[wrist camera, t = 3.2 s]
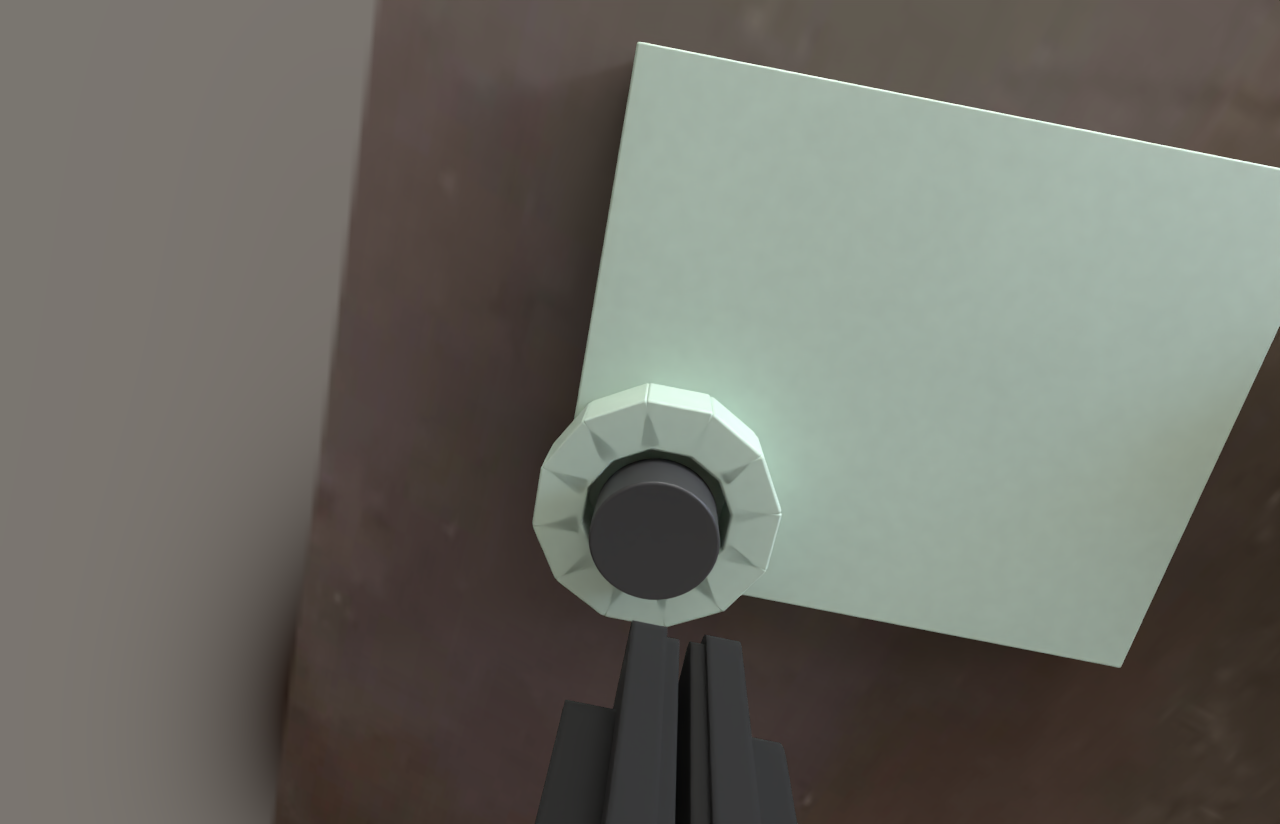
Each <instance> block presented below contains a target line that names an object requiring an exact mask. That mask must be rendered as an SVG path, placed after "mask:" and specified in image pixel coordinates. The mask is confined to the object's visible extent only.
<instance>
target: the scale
mask: <svg viewBox="0 0 1280 824" xmlns="http://www.w3.org/2000/svg"><path fill="white" fill-rule="evenodd" d="M1279 326H1280V168H1276V167H1271V166H1266V165H1261V164H1256V163H1251V162H1246V161H1241V160H1236V159H1231V158H1225V157H1220V156H1215V155H1210V154H1205V153H1200V152H1195V151H1190V150H1185V149H1180V148H1175V147H1170V146H1165V145H1160V144H1155V143H1150V142H1145V141H1139V140H1134V139H1129V138H1124V137H1119V136H1114V135H1109V134H1104V133H1099V132H1094V131H1089V130H1084V129H1079V128H1074V127H1069V126H1064V125H1059V124H1053V123H1048V122H1043V121H1038V120H1033V119H1028V118H1023V117H1018V116H1013V115H1008V114H1003V113H998V112H993V111H988V110H983V109H978V108H973V107H967V106H962V105H957V104H952V103H947V102H942V101H937V100H932V99H927V98H922V97H917V96H912V95H907V94H902V93H897V92H892V91H887V90H881V89H876V88H871V87H866V86H861V85H856V84H851V83H846V82H841V81H836V80H831V79H826V78H821V77H816V76H811V75H806V74H800V73H795V72H790V71H785V70H780V69H775V68H770V67H765V66H760V65H755V64H750V63H745V62H740V61H735V60H730V59H725V58H720V57H714V56H709V55H704V54H699V53H694V52H689V51H684V50H679V49H674V48H669V47H664V46H659V45H654V44H649V43H644V42H638V43H637V46H636V52H635V58H634V64H633V70H632V76H631V82H630V88H629V94H628V100H627V106H626V112H625V118H624V124H623V130H622V136H621V142H620V148H619V154H618V160H617V166H616V171H615V177H614V183H613V189H612V195H611V201H610V207H609V213H608V219H607V225H606V231H605V237H604V243H603V249H602V255H601V261H600V267H599V273H598V279H597V285H596V291H595V297H594V303H593V309H592V315H591V321H590V327H589V333H588V339H587V345H586V351H585V357H584V362H583V368H582V374H581V380H580V386H579V392H578V398H577V404H576V410H575V416H574V421H573V422H572V423H571V424H570V425H569V426H568V427H567V428H566V430H565V431H564V432H563V433H562V434H561V435H560V436H559V438H558V439H557V440H556V441H555V442H554V443H553V445H552V447H551V449H550V451H549V453H548V455H547V457H546V459H545V461H544V463H543V465H542V467H541V470H540V476H539V483H538V489H537V496H536V502H535V508H534V515H533V521H532V524H533V528H534V531H535V533H536V535H537V538H538V540H539V542H540V545H541V547H542V549H543V552H544V554H545V556H546V559H547V561H548V563H549V566H550V568H551V570H552V573H553V575H554V577H555V578H556V579H557V581H558V582H559V583H561V584H562V585H563V586H565V587H566V588H567V589H568V590H570V591H571V592H572V593H574V594H575V595H576V596H578V597H579V598H580V599H581V600H583V601H584V602H585V603H587V604H588V605H589V606H591V607H592V608H593V609H594V610H596V611H597V612H598V613H600V614H601V615H605V616H606V617H611V618H616V619H621V620H626V621H631V622H632V620H634V621H639V622H644V623H649V624H654V625H659V626H665V627H668V626H672V625H676V624H679V623H683V622H687V621H690V620H694V619H698V618H701V617H705V616H709V615H712V614H716V613H720V612H721V611H725V610H726V609H727V608H728V607H729V606H730V605H731V604H732V603H733V602H734V601H735V600H736V599H738V598H739V597H740V596H741V595H746V596H751V597H757V598H762V599H767V600H772V601H777V602H782V603H788V604H793V605H798V606H803V607H808V608H813V609H819V610H824V611H829V612H834V613H839V614H844V615H850V616H855V617H860V618H865V619H870V620H875V621H881V622H886V623H891V624H896V625H901V626H906V627H912V628H917V629H922V630H927V631H932V632H937V633H943V634H948V635H953V636H958V637H963V638H968V639H974V640H979V641H984V642H989V643H994V644H999V645H1005V646H1010V647H1015V648H1020V649H1025V650H1030V651H1036V652H1041V653H1046V654H1051V655H1056V656H1061V657H1067V658H1072V659H1077V660H1082V661H1087V662H1092V663H1098V664H1103V665H1108V666H1113V667H1118V668H1120V667H1121V666H1122V663H1123V661H1124V659H1125V657H1126V655H1127V653H1128V651H1129V648H1130V646H1131V644H1132V642H1133V640H1134V638H1135V635H1136V633H1137V631H1138V629H1139V627H1140V625H1141V623H1142V620H1143V618H1144V616H1145V614H1146V612H1147V610H1148V608H1149V605H1150V603H1151V601H1152V599H1153V597H1154V595H1155V593H1156V590H1157V588H1158V586H1159V584H1160V582H1161V580H1162V577H1163V575H1164V573H1165V571H1166V569H1167V567H1168V565H1169V562H1170V560H1171V558H1172V556H1173V554H1174V552H1175V550H1176V547H1177V545H1178V543H1179V541H1180V539H1181V537H1182V534H1183V532H1184V530H1185V528H1186V526H1187V524H1188V522H1189V519H1190V517H1191V515H1192V513H1193V511H1194V509H1195V507H1196V504H1197V502H1198V500H1199V498H1200V496H1201V494H1202V491H1203V489H1204V487H1205V485H1206V483H1207V481H1208V479H1209V476H1210V474H1211V472H1212V470H1213V468H1214V466H1215V464H1216V461H1217V459H1218V457H1219V455H1220V453H1221V451H1222V449H1223V446H1224V444H1225V442H1226V440H1227V438H1228V436H1229V433H1230V431H1231V429H1232V427H1233V425H1234V423H1235V421H1236V418H1237V416H1238V414H1239V412H1240V410H1241V408H1242V406H1243V403H1244V401H1245V399H1246V397H1247V395H1248V393H1249V390H1250V388H1251V386H1252V384H1253V382H1254V380H1255V378H1256V375H1257V373H1258V371H1259V369H1260V367H1261V365H1262V363H1263V360H1264V358H1265V356H1266V354H1267V352H1268V350H1269V348H1270V345H1271V343H1272V341H1273V339H1274V337H1275V335H1276V332H1277V330H1278V328H1279ZM650 458H661V459H668V460H672V461H676V462H678V463H681V464H683V465H685V466H687V467H689V468H691V469H692V470H693V471H695V472H696V473H697V474H698V475H699V476H700V477H701V478H702V479H703V480H704V481H705V482H706V484H707V485H708V486H709V488H710V490H711V492H712V494H713V496H714V499H715V503H716V508H717V517H718V525H719V534H720V549H719V554H718V558H717V561H716V563H715V565H714V567H713V569H712V570H711V572H710V573H709V575H708V576H707V577H706V578H705V579H704V580H703V581H702V582H701V583H700V584H699V585H698V586H697V587H695V588H694V589H692V590H691V591H689V592H687V593H685V594H683V595H680V596H677V597H674V598H669V599H663V600H648V599H641V598H637V597H634V596H631V595H628V594H626V593H624V592H622V591H620V590H618V589H617V588H615V587H614V586H613V585H611V584H610V583H609V582H608V581H607V580H606V579H605V578H604V577H603V576H602V575H601V573H600V572H599V570H598V569H597V567H596V566H595V564H594V562H593V559H592V556H591V553H590V549H589V539H588V536H589V528H590V524H591V521H592V517H593V513H594V509H595V506H596V502H597V498H598V495H599V493H600V490H601V488H602V487H603V485H604V483H605V482H606V481H607V480H608V478H609V477H610V476H611V475H612V474H614V473H615V472H616V471H617V470H619V469H620V468H622V467H623V466H625V465H627V464H629V463H632V462H635V461H638V460H642V459H650Z"/></svg>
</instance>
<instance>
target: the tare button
mask: <svg viewBox="0 0 1280 824" xmlns="http://www.w3.org/2000/svg"><path fill="white" fill-rule="evenodd" d="M588 539H589V549H590V553H591V556H592V559H593V562H594V564H595V566H596V567H597V569H598V570H599V572H600V573H601V575H602V576H603V577H604V578H605V579H606V580H607V581H608V582H609V583H610V584H611V585H613V586H614V587H615V588H617V589H618V590H620V591H622V592H624V593H626V594H628V595H631V596H634V597H637V598H641V599H648V600H663V599H669V598H674V597H677V596H680V595H683V594H685V593H687V592H689V591H691V590H692V589H694V588H695V587H697V586H698V585H699V584H700V583H701V582H702V581H703V580H704V579H705V578H706V577H707V576H708V575H709V573H710V572H711V570H712V569H713V567H714V565H715V563H716V561H717V558H718V554H719V549H720V534H719V525H718V517H717V508H716V503H715V499H714V496H713V494H712V492H711V490H710V488H709V486H708V485H707V484H706V482H705V481H704V480H703V479H702V478H701V477H700V476H699V475H698V474H697V473H696V472H695V471H693V470H692V469H691V468H689V467H687V466H685V465H683V464H681V463H678V462H676V461H672V460H668V459H661V458H650V459H642V460H638V461H635V462H632V463H629V464H627V465H625V466H623V467H622V468H620V469H619V470H617V471H616V472H615V473H614V474H612V475H611V476H610V477H609V478H608V480H607V481H606V482H605V483H604V485H603V487H602V488H601V490H600V493H599V495H598V498H597V502H596V506H595V509H594V513H593V517H592V521H591V524H590V528H589V536H588Z"/></svg>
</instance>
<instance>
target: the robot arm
mask: <svg viewBox="0 0 1280 824" xmlns="http://www.w3.org/2000/svg"><path fill="white" fill-rule="evenodd" d="M678 676H679V639H674V638H669V637H667V627H664V626H659V625H654V624H649V623H644V622H639V621H634V620H632V623H631V627H630V632H629V636H628V641H627V646H626V650H625V655H624V660H623V664H622V669H621V674H620V678H619V683H618V688H617V692H616V697H615V702H614V707H613V709H609V708H604V707H599V706H594V705H590V704H585V703H580V702H575V701H570V700H565V703H564V707H563V711H562V715H561V719H560V723H559V727H558V731H557V736H556V740H555V744H554V748H553V752H552V756H551V760H550V764H549V768H548V772H547V776H546V781H545V785H544V789H543V793H542V797H541V801H540V805H539V809H538V813H537V817H536V821H535V824H797V820H796V814H795V808H794V802H793V796H792V790H791V784H790V778H789V772H788V767H787V761H786V755H785V751H784V748H783V746H782V745H781V743H777V742H772V741H767V740H762V739H757V738H753V737H752V735H751V726H750V718H749V709H748V700H747V691H746V682H745V673H744V664H743V655H742V647H741V643H740V642H738V641H733V640H729V639H724V638H719V637H714V636H709V635H704V637H703V639H702V642H701V644H699V643H694V642H689V644H688V647H687V651H686V655H685V659H684V663H683V667H682V671H681V675H680V679H679V683H678Z"/></svg>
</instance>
